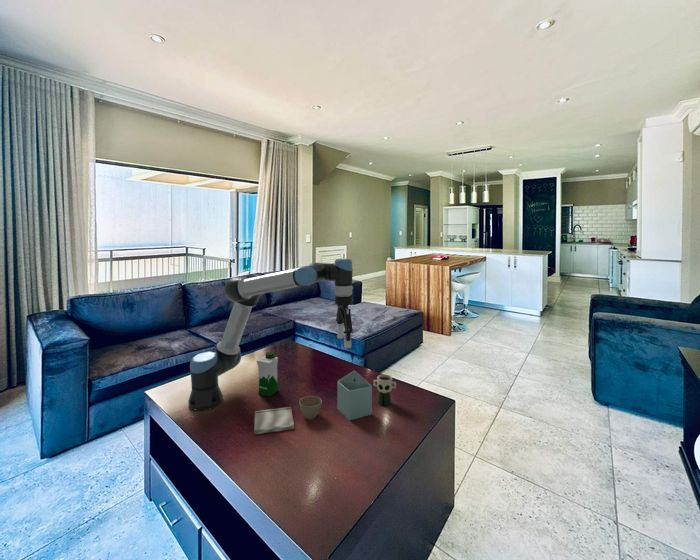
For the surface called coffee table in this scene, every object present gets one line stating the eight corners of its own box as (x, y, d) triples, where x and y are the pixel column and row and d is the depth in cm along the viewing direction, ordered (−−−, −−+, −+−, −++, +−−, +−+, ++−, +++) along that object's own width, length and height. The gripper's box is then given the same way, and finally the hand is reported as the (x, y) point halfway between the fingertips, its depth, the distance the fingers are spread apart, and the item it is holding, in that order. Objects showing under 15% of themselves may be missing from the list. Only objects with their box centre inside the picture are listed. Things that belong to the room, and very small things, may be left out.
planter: (331, 417, 147) (331, 374, 144) (337, 408, 155) (337, 367, 152) (367, 423, 142) (368, 379, 139) (371, 414, 150) (372, 372, 147)
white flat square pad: (254, 434, 134) (254, 431, 134) (255, 413, 149) (255, 411, 149) (294, 428, 138) (294, 425, 138) (291, 409, 153) (291, 406, 153)
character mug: (371, 405, 157) (372, 379, 156) (374, 398, 164) (374, 373, 162) (395, 408, 155) (395, 381, 153) (396, 400, 162) (396, 375, 160)
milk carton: (280, 390, 172) (279, 353, 169) (270, 398, 164) (269, 359, 161) (266, 387, 175) (265, 350, 173) (255, 394, 167) (254, 356, 164)
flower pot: (318, 423, 142) (318, 408, 141) (296, 421, 144) (295, 405, 143) (324, 411, 152) (324, 396, 151) (303, 409, 154) (303, 394, 153)
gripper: (360, 299, 131) (360, 351, 134) (345, 289, 155) (345, 333, 158) (341, 300, 129) (342, 353, 132) (329, 290, 153) (330, 335, 156)
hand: (344, 342), depth 145 cm, fingers open, 13 cm apart
